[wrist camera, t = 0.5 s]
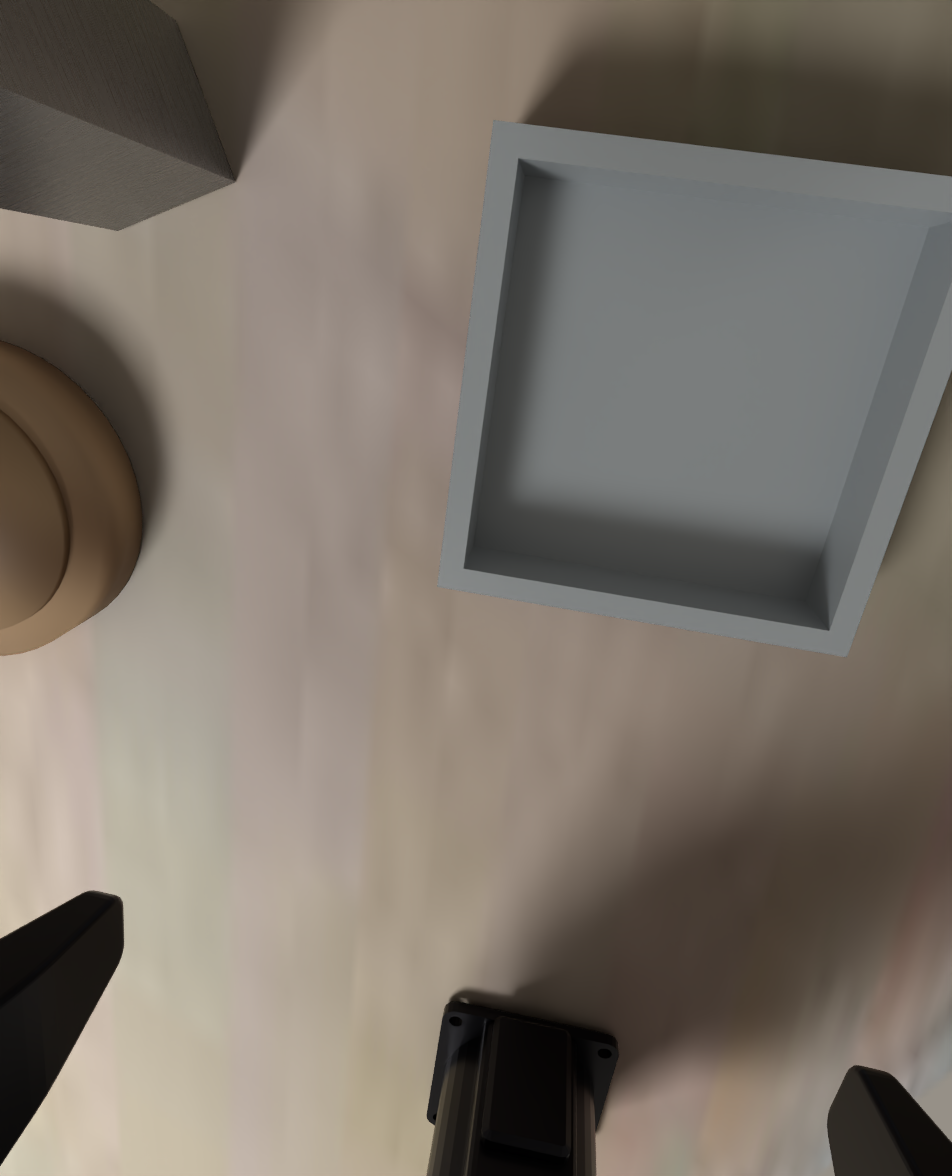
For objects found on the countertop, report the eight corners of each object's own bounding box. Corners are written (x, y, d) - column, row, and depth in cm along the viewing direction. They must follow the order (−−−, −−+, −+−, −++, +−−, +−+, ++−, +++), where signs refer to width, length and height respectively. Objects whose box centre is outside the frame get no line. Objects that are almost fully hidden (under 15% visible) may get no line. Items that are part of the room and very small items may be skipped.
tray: (814, 617, 20) (846, 657, 17) (452, 556, 20) (437, 586, 18) (954, 204, 16) (1019, 185, 14) (504, 148, 17) (493, 120, 14)
